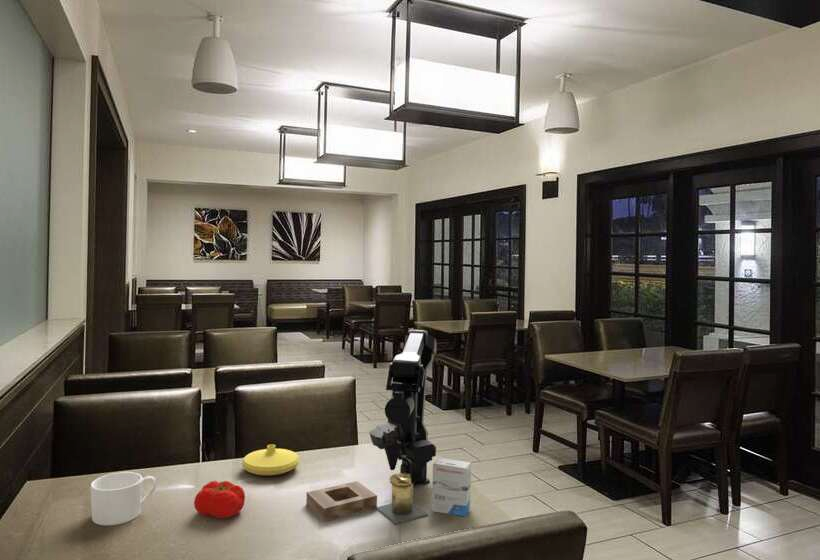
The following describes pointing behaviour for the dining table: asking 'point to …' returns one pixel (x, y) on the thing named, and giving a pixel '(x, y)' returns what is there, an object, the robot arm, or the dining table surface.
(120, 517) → the mug
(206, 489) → the tomato
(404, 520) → the felt pad
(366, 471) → the dining table surface
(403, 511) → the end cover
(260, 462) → the yellow flat knobbed disc
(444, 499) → the ink box
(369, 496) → the bore block
